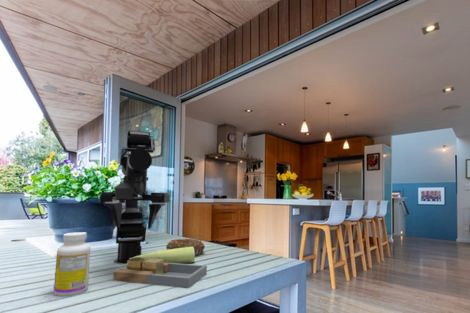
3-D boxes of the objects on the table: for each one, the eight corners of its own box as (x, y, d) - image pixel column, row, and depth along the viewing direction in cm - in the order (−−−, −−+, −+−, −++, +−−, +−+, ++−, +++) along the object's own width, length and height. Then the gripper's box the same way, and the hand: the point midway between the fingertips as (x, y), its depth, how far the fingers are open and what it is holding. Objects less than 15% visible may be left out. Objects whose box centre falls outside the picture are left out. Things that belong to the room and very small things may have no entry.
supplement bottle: (63, 287, 65) (67, 231, 67) (92, 287, 66) (96, 231, 68) (46, 298, 59) (52, 235, 60) (79, 297, 59) (84, 235, 61)
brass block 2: (141, 277, 72) (142, 261, 73) (149, 273, 76) (150, 258, 77) (155, 278, 71) (156, 262, 72) (163, 274, 75) (163, 259, 76)
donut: (159, 257, 98) (159, 242, 98) (176, 249, 111) (176, 236, 112) (197, 259, 94) (198, 244, 95) (210, 251, 108) (210, 238, 108)
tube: (193, 241, 91) (129, 247, 85) (195, 251, 87) (128, 258, 80) (191, 255, 93) (129, 262, 87) (194, 266, 88) (128, 274, 82)
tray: (146, 285, 68) (147, 274, 68) (170, 271, 79) (170, 262, 79) (188, 289, 65) (188, 278, 65) (206, 274, 76) (206, 265, 77)
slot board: (112, 281, 70) (113, 271, 70) (140, 269, 82) (141, 260, 82) (146, 285, 68) (147, 274, 68) (170, 271, 79) (170, 262, 79)
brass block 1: (126, 276, 74) (127, 260, 74) (135, 272, 77) (136, 257, 78) (139, 277, 73) (140, 261, 73) (148, 273, 76) (149, 258, 77)
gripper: (89, 171, 74) (85, 231, 72) (158, 171, 72) (155, 233, 71) (111, 173, 85) (107, 226, 83) (171, 174, 83) (169, 227, 82)
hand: (133, 228), depth 79 cm, fingers open, 9 cm apart
